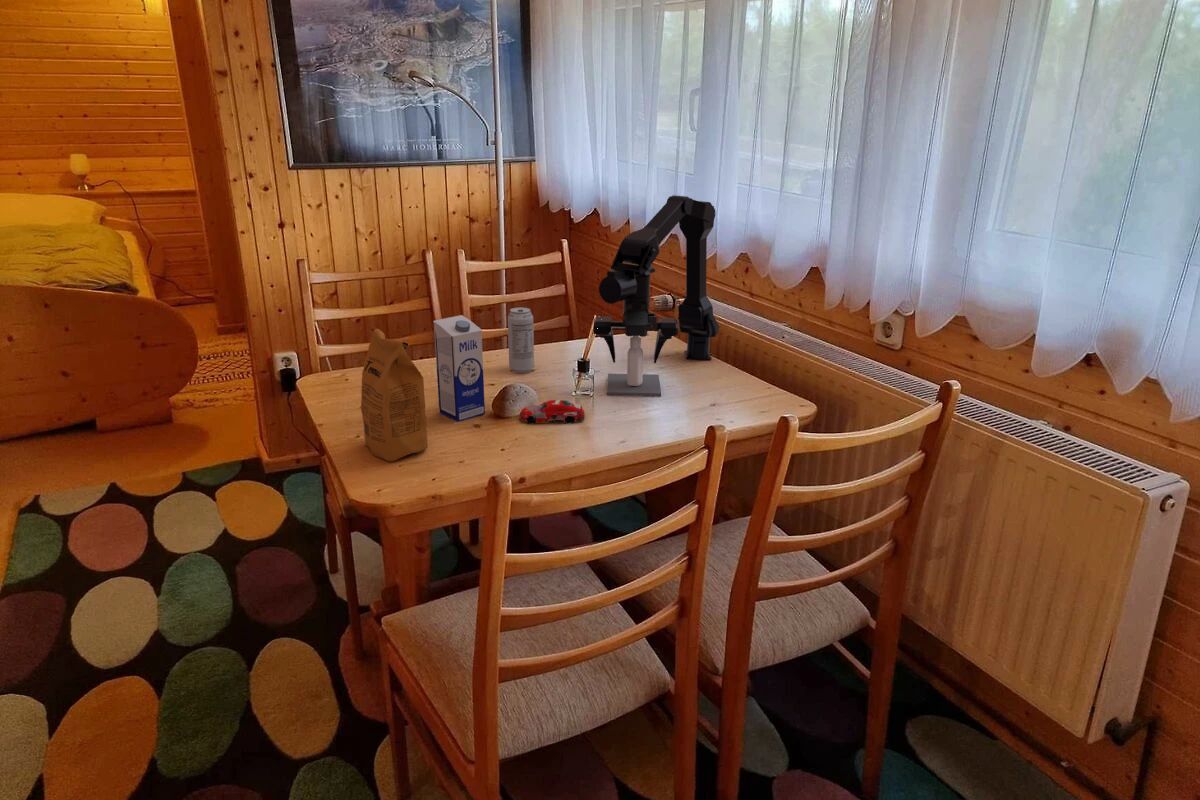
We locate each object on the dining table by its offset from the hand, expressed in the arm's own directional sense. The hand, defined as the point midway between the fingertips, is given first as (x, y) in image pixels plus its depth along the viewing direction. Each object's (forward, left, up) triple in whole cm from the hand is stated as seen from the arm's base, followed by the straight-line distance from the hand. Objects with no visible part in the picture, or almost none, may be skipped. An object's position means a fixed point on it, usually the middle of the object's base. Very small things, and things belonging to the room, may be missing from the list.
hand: (634, 362), depth 176 cm
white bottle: (0, 0, -5) cm, 5 cm away
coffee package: (+37, -45, -6) cm, 59 cm away
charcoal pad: (0, 0, -6) cm, 6 cm away
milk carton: (+19, -36, -6) cm, 41 cm away
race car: (+21, -17, -6) cm, 28 cm away
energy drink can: (-10, -27, -6) cm, 29 cm away
